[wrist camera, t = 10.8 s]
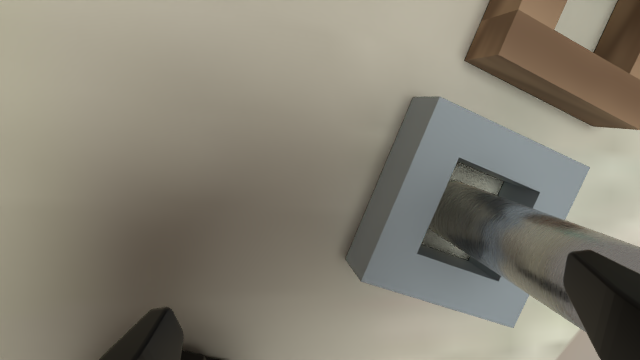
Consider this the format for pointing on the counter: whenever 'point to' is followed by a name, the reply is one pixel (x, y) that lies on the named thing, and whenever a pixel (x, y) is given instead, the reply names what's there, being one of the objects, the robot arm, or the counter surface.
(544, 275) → the axle
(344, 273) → the counter surface
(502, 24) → the brown square frame
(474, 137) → the socket block
